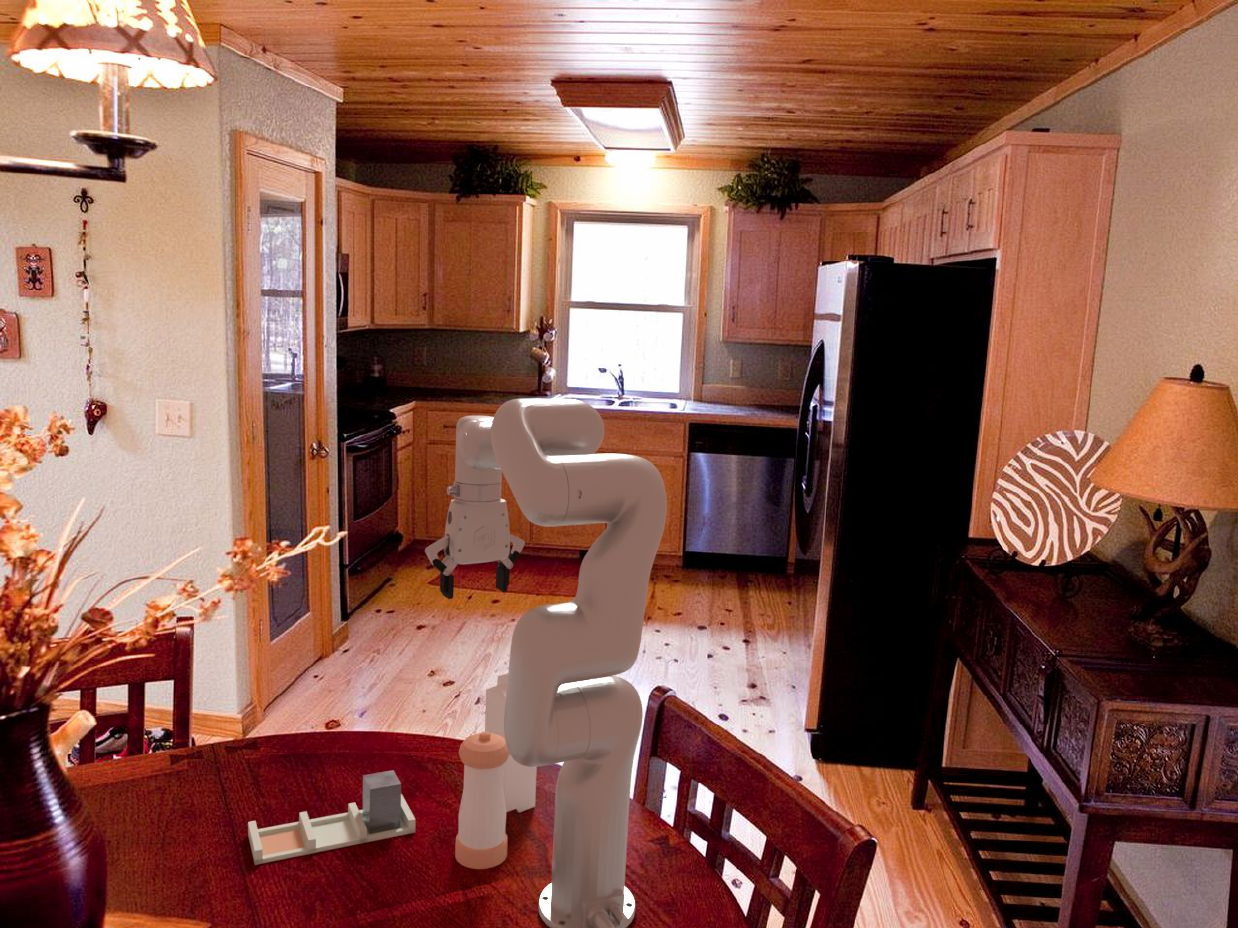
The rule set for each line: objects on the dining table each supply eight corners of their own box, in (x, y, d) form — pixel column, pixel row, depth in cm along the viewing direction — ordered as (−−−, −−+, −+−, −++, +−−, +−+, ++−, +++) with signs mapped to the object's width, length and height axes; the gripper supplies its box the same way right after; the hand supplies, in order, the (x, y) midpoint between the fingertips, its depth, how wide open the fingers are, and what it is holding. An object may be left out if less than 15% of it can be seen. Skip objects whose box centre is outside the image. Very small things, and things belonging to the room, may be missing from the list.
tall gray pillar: (400, 828, 140) (401, 783, 139) (369, 834, 138) (369, 789, 137) (392, 813, 144) (393, 770, 143) (362, 819, 142) (363, 775, 141)
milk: (535, 807, 150) (542, 673, 147) (504, 819, 146) (510, 682, 142) (512, 791, 154) (518, 661, 151) (481, 802, 150) (486, 669, 147)
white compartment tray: (415, 838, 139) (415, 819, 139) (254, 871, 129) (254, 850, 129) (401, 811, 146) (401, 793, 146) (248, 841, 136) (248, 821, 136)
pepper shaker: (457, 878, 130) (461, 745, 127) (452, 848, 137) (455, 723, 134) (510, 872, 132) (515, 742, 129) (502, 843, 139) (507, 719, 136)
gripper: (436, 499, 148) (434, 606, 150) (535, 493, 157) (531, 593, 160) (418, 490, 154) (416, 593, 156) (515, 485, 163) (512, 582, 166)
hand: (474, 593), depth 158 cm, fingers open, 9 cm apart
